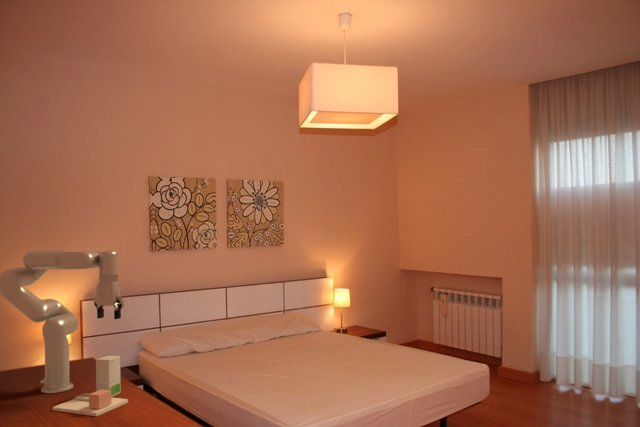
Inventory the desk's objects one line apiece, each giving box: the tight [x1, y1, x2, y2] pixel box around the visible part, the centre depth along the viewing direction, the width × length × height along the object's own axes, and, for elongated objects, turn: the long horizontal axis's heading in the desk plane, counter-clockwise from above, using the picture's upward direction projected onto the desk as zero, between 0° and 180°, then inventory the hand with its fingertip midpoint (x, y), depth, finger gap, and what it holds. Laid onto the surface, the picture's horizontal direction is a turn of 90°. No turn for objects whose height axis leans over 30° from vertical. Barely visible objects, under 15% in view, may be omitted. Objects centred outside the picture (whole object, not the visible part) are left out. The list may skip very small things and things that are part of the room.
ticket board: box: [52, 392, 129, 417], centre depth 198 cm, size 22×16×2 cm
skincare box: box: [95, 355, 122, 398], centre depth 211 cm, size 8×7×16 cm
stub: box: [88, 390, 111, 409], centre depth 193 cm, size 5×6×5 cm
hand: (109, 318), depth 222 cm, fingers open, 9 cm apart
